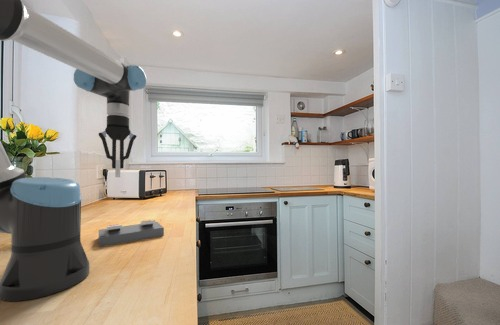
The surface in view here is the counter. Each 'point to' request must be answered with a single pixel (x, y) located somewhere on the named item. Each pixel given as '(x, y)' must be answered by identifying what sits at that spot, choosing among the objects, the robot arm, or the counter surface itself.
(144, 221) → the right rocker
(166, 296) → the counter surface
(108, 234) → the power strip
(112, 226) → the left rocker
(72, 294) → the counter surface
